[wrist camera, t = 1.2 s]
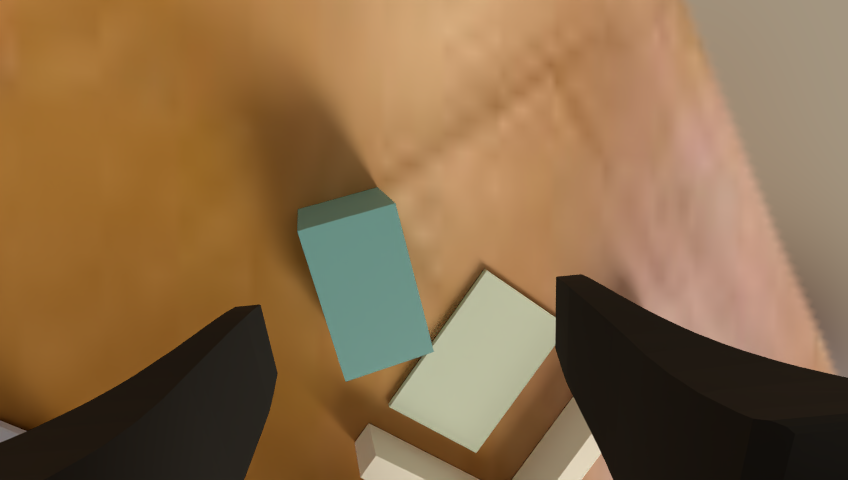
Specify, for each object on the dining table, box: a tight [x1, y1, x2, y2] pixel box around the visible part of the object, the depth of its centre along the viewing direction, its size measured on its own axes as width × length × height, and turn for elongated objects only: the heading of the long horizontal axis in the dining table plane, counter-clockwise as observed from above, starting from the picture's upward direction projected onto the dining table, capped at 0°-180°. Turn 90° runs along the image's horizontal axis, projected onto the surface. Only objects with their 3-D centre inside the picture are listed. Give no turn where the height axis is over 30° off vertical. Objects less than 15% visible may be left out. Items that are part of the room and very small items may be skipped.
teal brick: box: [297, 187, 434, 381], centre depth 21 cm, size 6×4×4 cm, turn 13°
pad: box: [389, 269, 556, 453], centre depth 25 cm, size 8×6×1 cm
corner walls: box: [355, 397, 601, 480], centre depth 25 cm, size 13×10×2 cm
